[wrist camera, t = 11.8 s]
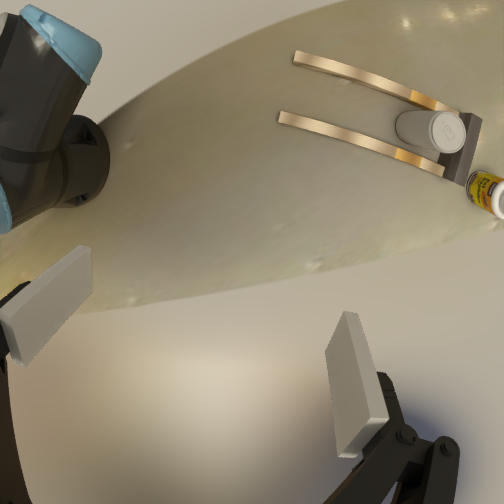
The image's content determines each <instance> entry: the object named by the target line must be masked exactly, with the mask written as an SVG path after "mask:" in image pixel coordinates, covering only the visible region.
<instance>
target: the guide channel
mask: <svg viewBox="0 0 504 504" xmlns="http://www.w3.org/2000/svg"><path fill="white" fill-rule="evenodd" d="M293 64H294V65H298V66H302V67H306V68H310V69H314V70H317V71H321V72H324V73H328V74H331V75H334V76H337V77H341V78H344V79H347V80H350V81H353V82H356V83H359V84H362V85H365V86H367V87H370V88H373V89H376V90H378V91H381V92H384V93H386V94H389V95H391V96H394V97H396V98H399V99H401V100H404V101H406V102H408V103H411V104H413V105H415V106H417V107H420V108H422V109H424V110H426V111H448V112H451V113H454V114H455V115H457V116H458V117H459V118H460V119H461V120H462V122H463V124H464V126H465V130H466V139H465V142H464V145H463V146H462V148H461V149H460V150H459V151H457V152H454V153H442V152H441V154H440V157H439V161H438V164H437V163H434V162H432V161H430V160H427V159H425V158H423V157H420V156H418V155H415V154H413V153H411V152H408V151H405V150H403V149H400V148H398V147H395V146H393V145H390V144H387V143H384V142H382V141H379V140H376V139H373V138H371V137H368V136H365V135H362V134H359V133H356V132H353V131H350V130H347V129H344V128H340V127H337V126H334V125H331V124H327V123H324V122H320V121H317V120H313V119H310V118H306V117H303V116H299V115H295V114H291V113H287V112H283V111H281V113H280V117H279V121H278V122H280V123H284V124H288V125H292V126H295V127H299V128H303V129H307V130H310V131H314V132H317V133H321V134H324V135H328V136H331V137H334V138H338V139H341V140H344V141H347V142H350V143H353V144H356V145H359V146H362V147H365V148H368V149H371V150H374V151H377V152H380V153H383V154H385V155H388V156H391V157H394V158H396V159H399V160H401V161H404V162H407V163H409V164H412V165H414V166H417V167H419V168H422V169H424V170H427V171H429V172H431V173H434V174H436V175H438V176H441V177H443V178H445V179H448V180H450V181H452V182H454V183H457V184H459V185H461V186H463V187H464V186H465V183H466V180H467V177H468V173H469V170H470V167H471V163H472V160H473V156H474V152H475V149H476V145H477V141H478V137H479V133H480V128H481V124H482V119H481V118H480V117H478V116H476V115H474V114H473V113H459V112H457V111H455V110H453V109H452V108H450V107H448V106H446V105H444V104H442V103H440V102H438V101H436V100H434V99H431V98H429V97H427V96H425V95H423V94H421V93H419V92H416V91H414V90H412V89H410V88H407V87H405V86H403V85H400V84H398V83H395V82H393V81H390V80H388V79H385V78H383V77H380V76H377V75H375V74H372V73H369V72H367V71H364V70H361V69H358V68H355V67H352V66H349V65H346V64H343V63H340V62H337V61H333V60H330V59H326V58H323V57H320V56H316V55H312V54H308V53H305V52H301V51H297V50H296V53H295V57H294V61H293Z"/></svg>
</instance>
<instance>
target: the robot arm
mask: <svg viewBox="0 0 504 504" xmlns="http://www.w3.org/2000/svg"><path fill="white" fill-rule="evenodd" d="M19 14H20V15H14V14H10V13H6V12H4V13H2V14H1V15H0V235H1V234H6V233H8V232H9V231H10V230H11V229H13V228H15V227H17V226H18V225H20V224H22V223H24V222H25V221H27V220H29V219H31V218H33V217H34V216H36V215H38V214H40V213H42V212H44V211H46V210H48V209H50V208H74V207H78V206H81V205H83V204H85V203H87V202H89V201H90V200H92V199H93V198H94V197H96V196H97V195H98V193H99V192H100V191H101V189H102V188H103V186H104V184H105V182H106V179H107V176H108V172H109V164H110V156H109V149H108V144H107V141H106V138H105V136H104V134H103V132H102V131H101V129H100V128H99V127H98V125H97V124H96V123H94V122H93V121H92V120H91V119H89V118H87V117H85V116H81V115H73V113H74V111H75V109H76V107H77V105H78V103H79V100H80V99H81V97H82V95H83V93H84V91H85V89H86V87H87V85H89V84H90V78H91V77H92V75H93V72H94V71H95V69H96V67H97V65H98V63H99V61H100V59H101V56H102V48H101V45H100V44H99V43H98V42H97V41H96V40H94V39H93V38H91V37H90V36H88V35H86V34H85V33H83V32H81V31H80V30H78V29H76V28H74V27H72V26H71V25H69V24H67V23H65V22H63V21H62V20H60V19H58V18H56V17H54V16H52V15H50V14H49V13H47V12H44V11H42V10H41V9H39V8H37V7H35V6H33V5H30V4H29V5H27V6H25V7H24V8H23V9H22V10H21V11H20V13H19ZM92 292H93V290H92V248H90V247H87V246H84V245H79V246H77V247H76V248H74V249H73V250H72V251H70V252H69V253H68V254H66V255H65V256H64V257H62V258H61V259H60V260H59V261H57V262H56V263H55V264H53V265H52V266H51V267H50V268H48V269H47V270H46V271H44V272H43V273H42V274H41V275H39V276H38V277H37V278H36V279H35V280H33V281H32V282H30V281H27V282H25V283H22V284H20V285H18V286H17V287H16V288H15V289H14V290H13V291H11V292H10V293H9V294H8V295H7V296H5V297H4V298H3V299H2V300H0V504H32V502H31V500H30V498H29V495H28V492H27V488H26V485H25V481H24V477H23V473H22V469H21V465H20V460H19V455H18V451H17V445H16V440H15V434H14V429H13V422H12V414H11V406H10V397H9V387H8V373H7V361H6V355H7V354H8V353H9V352H10V354H11V357H12V360H13V362H15V363H16V364H18V365H20V366H21V367H23V368H26V367H27V366H28V365H29V363H30V362H31V361H32V360H33V359H34V357H35V356H36V355H37V354H38V353H39V351H40V350H41V349H42V348H43V347H44V346H45V344H46V343H47V342H48V341H49V340H50V339H51V337H52V336H53V335H54V334H55V333H56V332H57V331H58V329H59V328H60V327H61V326H62V325H63V324H64V323H65V322H66V320H67V319H68V318H69V317H70V316H71V315H72V314H73V313H74V312H75V311H76V309H77V308H78V307H79V306H80V305H81V304H82V303H83V302H84V301H85V300H86V299H87V298H88V297H89V296H90V294H91V293H92ZM325 355H326V362H327V369H328V376H329V384H330V391H331V400H332V408H333V415H334V424H335V434H336V443H337V453H338V457H352V458H353V457H354V458H355V457H356V456H357V455H358V454H359V453H360V452H361V451H362V453H363V459H362V460H361V461H360V462H359V463H358V464H357V465H356V466H355V467H354V468H353V469H352V472H351V473H350V474H349V475H348V477H347V478H346V479H345V480H344V481H343V482H342V483H341V484H340V486H339V487H338V488H337V489H336V490H335V491H334V492H333V493H332V494H331V495H330V496H329V498H328V499H327V500H326V501H325V502H324V503H323V504H381V503H382V501H383V500H384V499H385V497H386V496H387V494H388V493H389V491H390V490H391V488H392V487H393V485H394V484H395V482H398V483H397V486H396V489H395V493H394V496H393V499H392V502H391V504H453V503H454V497H455V490H456V484H457V476H458V467H459V457H460V450H459V446H458V444H457V443H456V442H455V441H454V440H453V439H452V438H450V437H446V436H442V437H439V438H438V439H437V440H436V441H435V442H430V441H427V440H423V439H420V438H418V435H417V433H416V431H415V430H414V429H413V428H412V427H411V426H409V425H407V424H405V422H404V418H403V415H402V412H401V408H400V405H399V402H398V399H397V396H396V392H394V391H395V389H394V386H393V383H392V381H391V380H390V378H389V377H388V376H387V374H386V373H383V372H376V369H375V366H374V363H373V360H372V356H371V353H370V350H369V347H368V343H367V340H366V337H365V334H364V331H363V328H362V325H361V322H360V319H359V316H358V314H357V313H353V312H348V311H343V314H342V316H341V318H340V320H339V323H338V325H337V327H336V329H335V332H334V334H333V336H332V338H331V340H330V342H329V344H328V347H327V349H326V351H325Z"/></svg>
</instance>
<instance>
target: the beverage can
mask: <svg viewBox="0 0 504 504" xmlns="http://www.w3.org/2000/svg"><path fill="white" fill-rule="evenodd" d="M396 131H397V134H398V136H399V137H400V139H401V140H403V141H404V142H406V143H408V144H412V145H416V146H420V147H424V148H428V149H432V150H435V151H439V152H442V153H454V152H457V151H459V150H460V149H461V148H462V146H463V145H464V142H465V139H466V130H465V126H464V124H463V122H462V120H461V119H460V118H459V117H458V116H457V115H455V114H454V113H451V112H448V111H407V112H404V113H402V114H401V115H400V116H399V117H398V119H397V121H396Z"/></svg>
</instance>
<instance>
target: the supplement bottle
mask: <svg viewBox="0 0 504 504" xmlns="http://www.w3.org/2000/svg"><path fill="white" fill-rule="evenodd" d="M467 192H468V196H469V198H470V200H471V201H472V202H473V203H474V204H476V205H478V206H480V207H481V208H483V209H485V210H487V211H488V212H490V213H492V214H493V215H495V216H497V217H498V218H501V219H504V179H503V178H500V177H498V176H495V175H493V174H490V173H487V172H484V171H477V172H475V173H474V174H473V175H472V176H471V177H470V179H469V181H468V185H467Z"/></svg>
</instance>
